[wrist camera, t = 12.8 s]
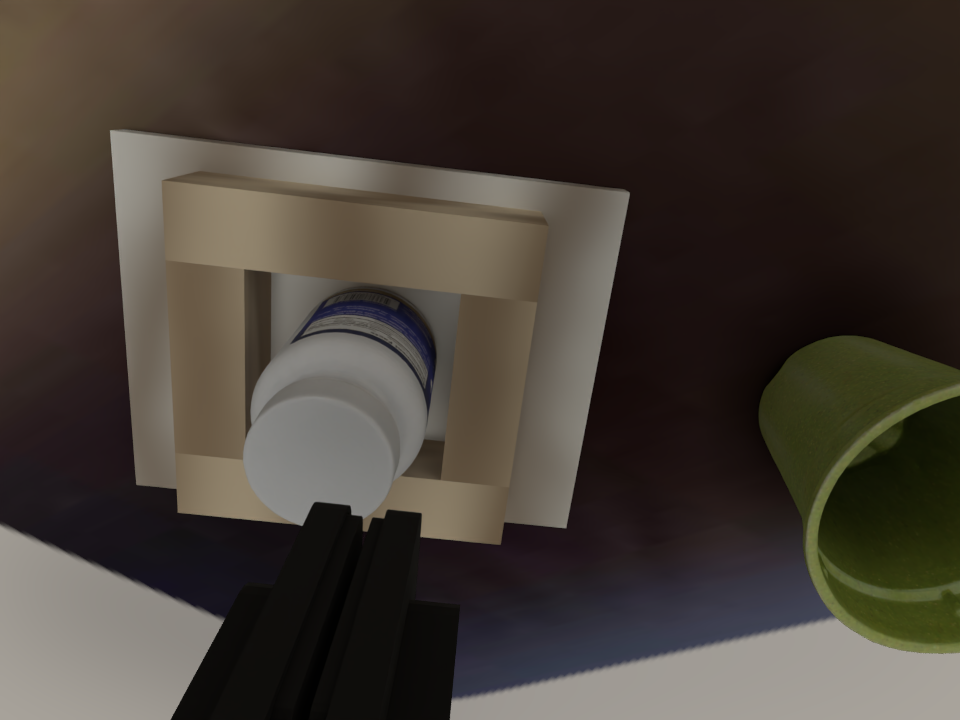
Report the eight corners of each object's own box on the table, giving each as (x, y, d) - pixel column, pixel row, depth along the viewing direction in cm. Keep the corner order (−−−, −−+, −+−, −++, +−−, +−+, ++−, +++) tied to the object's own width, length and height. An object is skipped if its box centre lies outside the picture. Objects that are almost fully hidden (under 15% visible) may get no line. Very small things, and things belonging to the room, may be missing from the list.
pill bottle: (382, 437, 27) (337, 584, 19) (273, 358, 26) (175, 478, 18) (467, 342, 26) (459, 456, 17) (356, 254, 25) (291, 331, 16)
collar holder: (624, 189, 25) (649, 204, 21) (563, 514, 30) (574, 574, 26) (124, 129, 24) (58, 134, 20) (147, 472, 29) (97, 527, 25)
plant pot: (738, 527, 30) (833, 685, 22) (692, 335, 27) (784, 437, 19) (956, 468, 29) (1142, 611, 21) (936, 261, 26) (1146, 334, 18)
